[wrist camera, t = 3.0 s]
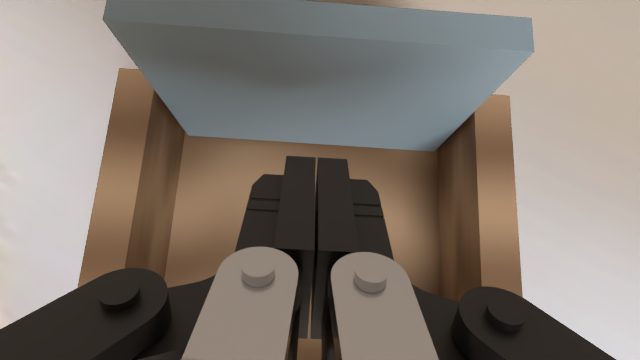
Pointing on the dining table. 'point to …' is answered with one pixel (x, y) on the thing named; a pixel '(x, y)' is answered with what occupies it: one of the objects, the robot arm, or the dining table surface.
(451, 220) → the open wooden box
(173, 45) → the flat rectangular panel
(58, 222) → the dining table surface
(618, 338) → the dining table surface
